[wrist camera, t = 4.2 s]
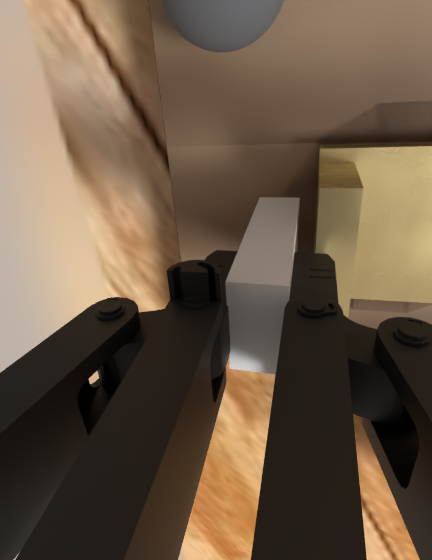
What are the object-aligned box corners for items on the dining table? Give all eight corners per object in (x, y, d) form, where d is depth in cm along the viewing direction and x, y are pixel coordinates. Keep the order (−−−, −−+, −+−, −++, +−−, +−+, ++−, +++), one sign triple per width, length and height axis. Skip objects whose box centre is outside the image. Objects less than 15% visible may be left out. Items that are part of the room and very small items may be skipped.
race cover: (319, 144, 14) (320, 170, 11) (508, 139, 13) (571, 167, 10) (311, 286, 17) (310, 340, 14) (463, 294, 16) (501, 356, 13)
